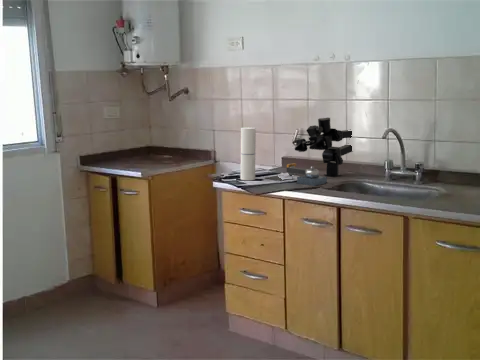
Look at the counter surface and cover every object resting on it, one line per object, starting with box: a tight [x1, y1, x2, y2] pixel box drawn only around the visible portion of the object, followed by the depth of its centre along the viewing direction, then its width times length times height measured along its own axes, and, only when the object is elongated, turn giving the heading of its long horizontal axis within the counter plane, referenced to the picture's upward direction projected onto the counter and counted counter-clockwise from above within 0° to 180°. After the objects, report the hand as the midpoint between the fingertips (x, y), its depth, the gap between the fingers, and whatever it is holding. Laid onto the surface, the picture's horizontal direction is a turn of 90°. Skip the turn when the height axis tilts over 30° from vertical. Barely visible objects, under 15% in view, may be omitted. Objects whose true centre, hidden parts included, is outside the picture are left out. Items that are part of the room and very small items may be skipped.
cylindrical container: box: [240, 126, 257, 181], centre depth 279 cm, size 7×7×25 cm
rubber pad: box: [264, 174, 282, 182], centre depth 284 cm, size 10×10×1 cm
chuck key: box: [286, 162, 297, 176], centre depth 292 cm, size 6×3×6 cm, turn 137°
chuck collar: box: [286, 166, 320, 177], centre depth 275 cm, size 18×6×5 cm, turn 47°
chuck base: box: [296, 175, 328, 187], centre depth 272 cm, size 10×10×3 cm
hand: (302, 148), depth 273 cm, fingers open, 9 cm apart
